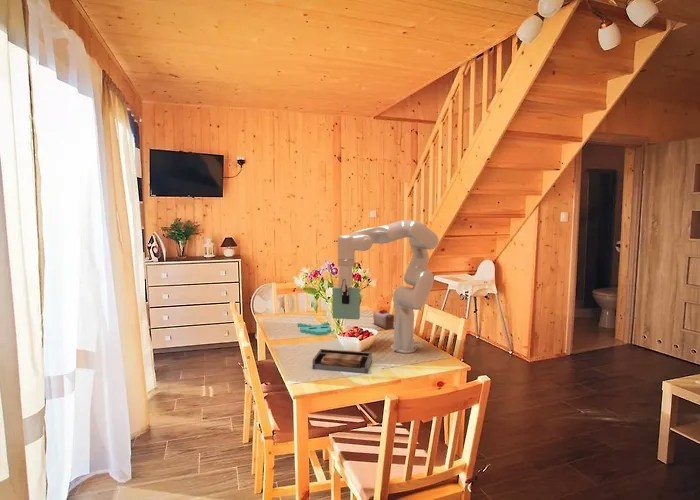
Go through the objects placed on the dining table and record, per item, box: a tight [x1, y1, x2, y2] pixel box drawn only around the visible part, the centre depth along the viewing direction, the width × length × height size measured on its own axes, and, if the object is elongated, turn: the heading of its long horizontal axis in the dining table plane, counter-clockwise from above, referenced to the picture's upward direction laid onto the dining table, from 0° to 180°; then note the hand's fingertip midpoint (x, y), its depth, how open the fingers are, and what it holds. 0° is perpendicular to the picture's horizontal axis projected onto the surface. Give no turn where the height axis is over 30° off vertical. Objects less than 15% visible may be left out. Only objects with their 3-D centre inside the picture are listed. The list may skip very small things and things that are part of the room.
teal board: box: [332, 286, 361, 321], centre depth 194 cm, size 12×2×14 cm, turn 80°
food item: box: [372, 309, 395, 330], centre depth 253 cm, size 14×8×10 cm, turn 33°
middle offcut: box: [321, 356, 358, 367], centre depth 189 cm, size 16×6×2 cm, turn 82°
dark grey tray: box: [312, 348, 373, 374], centre depth 191 cm, size 24×14×5 cm, turn 79°
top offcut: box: [324, 353, 362, 364], centre depth 188 cm, size 16×6×2 cm, turn 77°
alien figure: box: [297, 320, 331, 336], centre depth 245 cm, size 20×2×20 cm
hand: (346, 302), depth 194 cm, fingers closed on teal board, 2 cm apart
